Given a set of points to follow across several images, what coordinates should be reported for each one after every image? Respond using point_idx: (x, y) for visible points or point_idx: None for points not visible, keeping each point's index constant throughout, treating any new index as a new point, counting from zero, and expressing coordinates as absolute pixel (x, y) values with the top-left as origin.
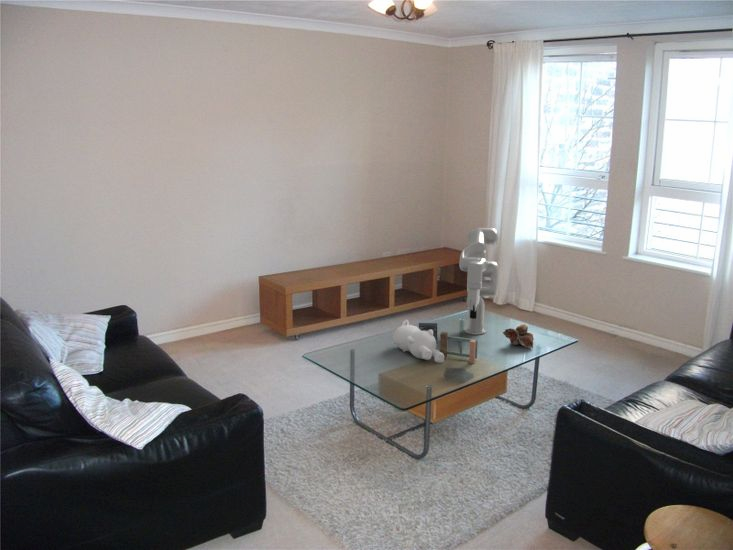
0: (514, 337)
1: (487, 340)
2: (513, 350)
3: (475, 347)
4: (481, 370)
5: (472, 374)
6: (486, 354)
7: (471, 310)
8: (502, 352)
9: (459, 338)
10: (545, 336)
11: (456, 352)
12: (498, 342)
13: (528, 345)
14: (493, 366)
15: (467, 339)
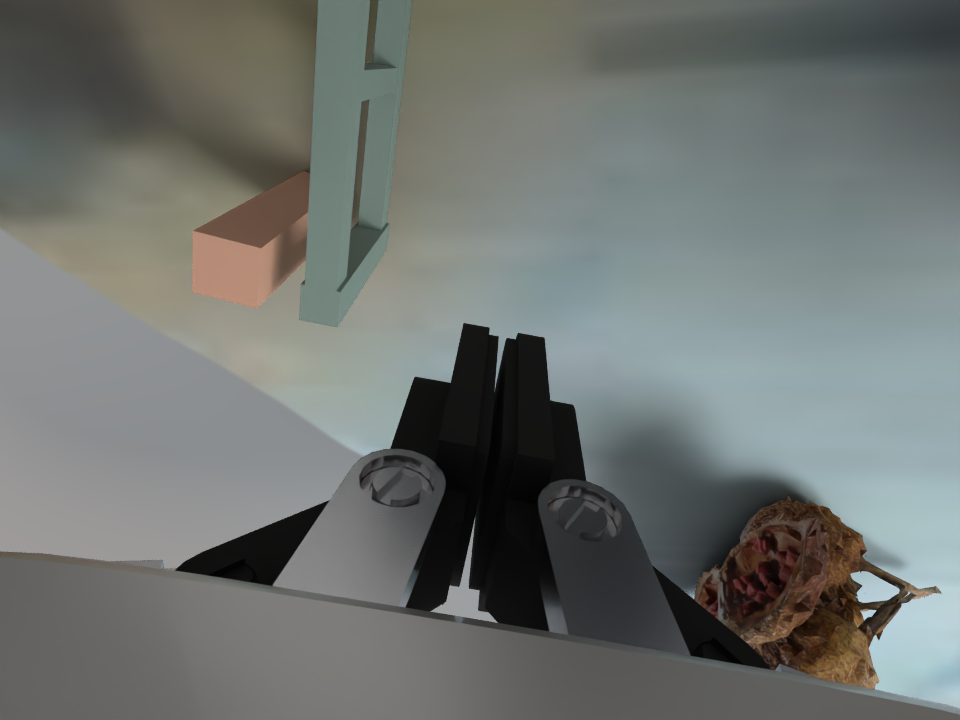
0: (746, 572)
1: (908, 325)
2: (655, 501)
3: (289, 273)
4: (181, 284)
5: (61, 213)
6: (547, 319)
7: (283, 535)
8: (607, 433)
9: (316, 47)
10: (922, 670)
11: (391, 15)
12: (841, 411)
13: (706, 598)
14: (299, 370)
15: (309, 186)
